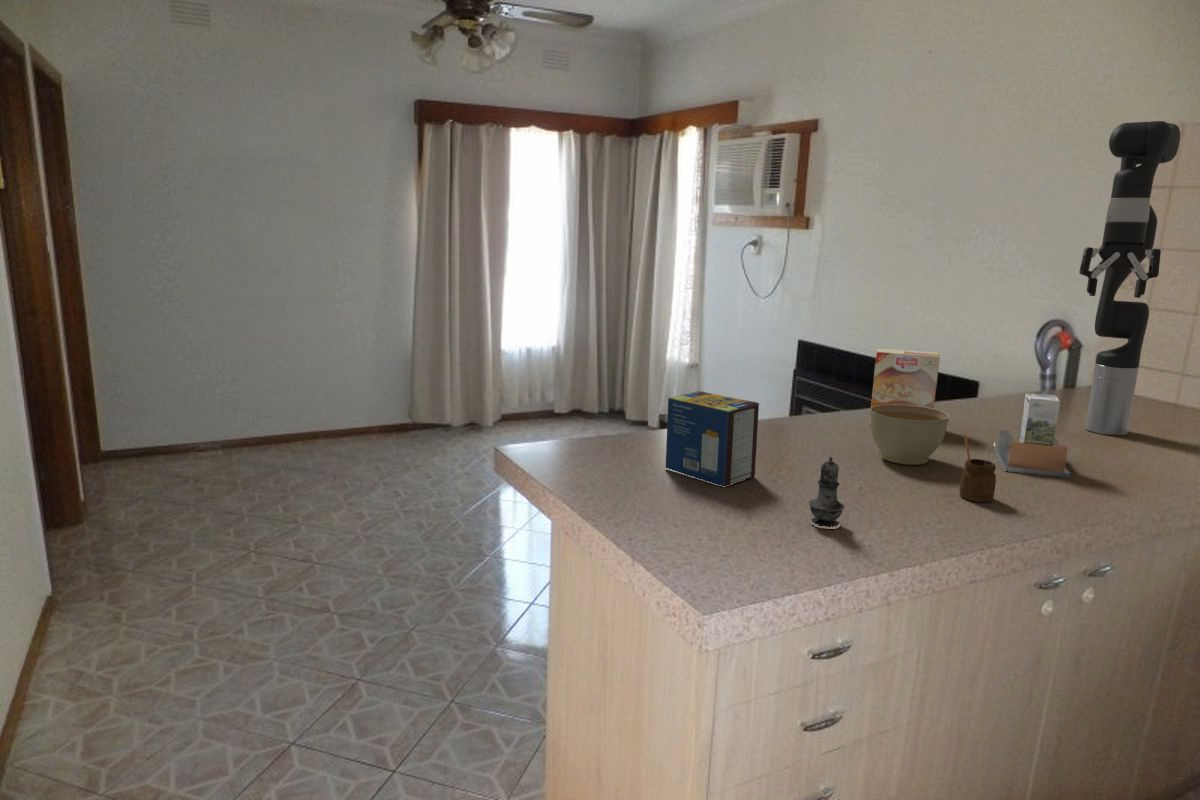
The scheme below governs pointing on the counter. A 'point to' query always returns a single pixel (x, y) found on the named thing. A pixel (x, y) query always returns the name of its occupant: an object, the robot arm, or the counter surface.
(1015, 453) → the guide bracket
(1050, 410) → the syrup box
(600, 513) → the counter surface
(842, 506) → the salt shaker
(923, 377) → the coffeecake box
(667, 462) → the protein box
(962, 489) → the utensil holder
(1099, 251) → the robot arm
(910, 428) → the planter bowl
